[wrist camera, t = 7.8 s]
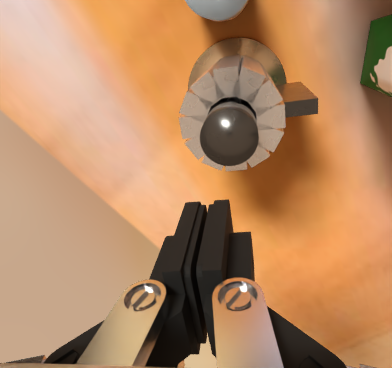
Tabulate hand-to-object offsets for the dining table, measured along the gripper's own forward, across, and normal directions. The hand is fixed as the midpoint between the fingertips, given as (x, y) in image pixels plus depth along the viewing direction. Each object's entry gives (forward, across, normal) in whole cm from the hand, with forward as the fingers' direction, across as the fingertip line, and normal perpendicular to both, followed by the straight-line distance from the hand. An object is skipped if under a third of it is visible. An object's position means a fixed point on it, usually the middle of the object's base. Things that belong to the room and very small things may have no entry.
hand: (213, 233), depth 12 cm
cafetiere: (+34, 0, 0) cm, 34 cm away
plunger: (+31, 0, 0) cm, 31 cm away
